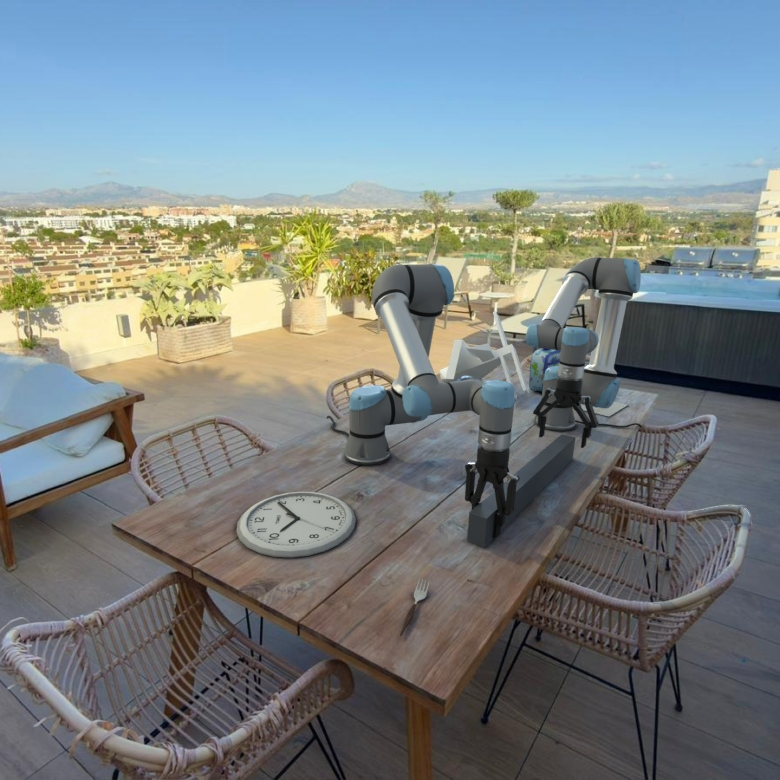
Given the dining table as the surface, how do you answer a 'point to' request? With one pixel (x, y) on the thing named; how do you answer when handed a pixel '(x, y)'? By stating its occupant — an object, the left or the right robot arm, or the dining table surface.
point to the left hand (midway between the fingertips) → (486, 531)
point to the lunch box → (542, 366)
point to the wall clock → (296, 524)
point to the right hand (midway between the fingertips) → (561, 441)
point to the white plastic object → (482, 360)
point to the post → (521, 488)
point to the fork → (418, 596)
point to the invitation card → (607, 409)
